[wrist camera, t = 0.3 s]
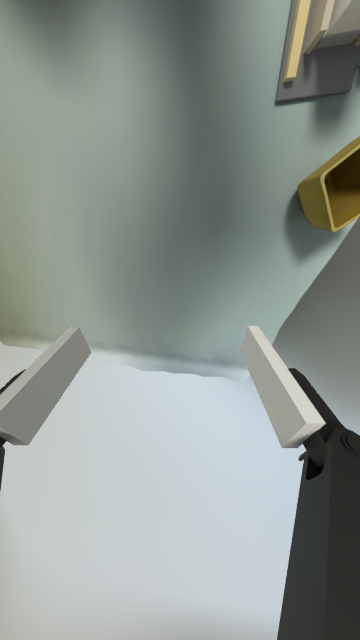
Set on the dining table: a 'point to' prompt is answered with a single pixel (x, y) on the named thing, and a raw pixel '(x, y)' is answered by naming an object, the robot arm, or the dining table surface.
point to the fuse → (342, 24)
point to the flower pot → (333, 190)
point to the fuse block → (314, 55)
